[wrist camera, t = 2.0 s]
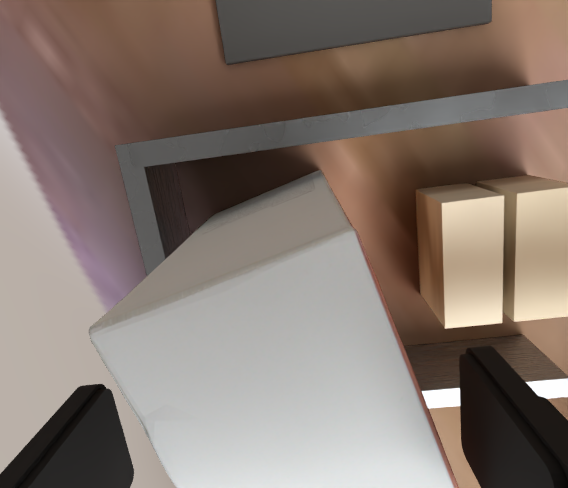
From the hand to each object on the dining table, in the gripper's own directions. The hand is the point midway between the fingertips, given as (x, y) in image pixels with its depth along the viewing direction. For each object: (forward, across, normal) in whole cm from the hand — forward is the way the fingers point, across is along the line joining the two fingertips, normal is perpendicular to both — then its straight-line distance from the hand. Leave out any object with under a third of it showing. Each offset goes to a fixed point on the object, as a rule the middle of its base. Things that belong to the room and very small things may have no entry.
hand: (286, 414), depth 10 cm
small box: (+12, 0, -1) cm, 12 cm away
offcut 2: (+12, -11, -1) cm, 16 cm away
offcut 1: (+12, -8, -1) cm, 14 cm away
